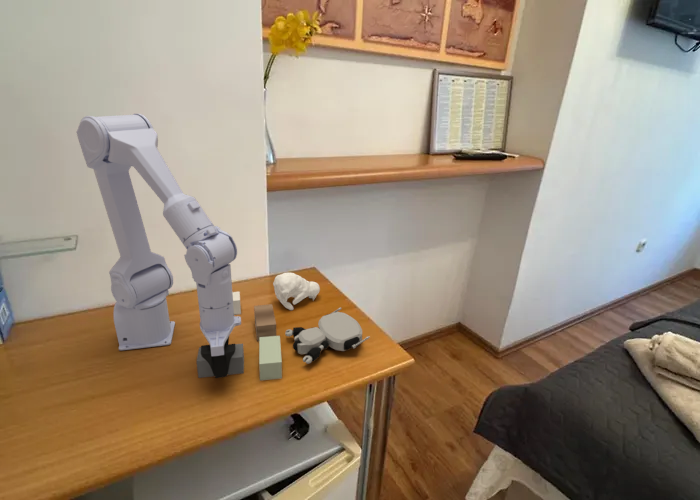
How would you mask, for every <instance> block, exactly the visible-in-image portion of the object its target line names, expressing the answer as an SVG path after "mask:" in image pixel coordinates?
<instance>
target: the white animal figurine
mask: <svg viewBox="0 0 700 500" xmlns="http://www.w3.org/2000/svg"><path fill="white" fill-rule="evenodd" d="M272 285H273V288H274V293H275V297H276V299H277V300H278V301H279V302H280V303H281V304H282V305H283V307H284V308H285V309H288V310H289V311H293V310H294V308H295V307H294V305H297V304H298V303H300V302H301V301H303V300H304V299H305V298H309V299H312V301H314V300H315V299H316V298H317V295H318V294H319V293H320V291H321V288H320V287H321V286H320V285H319V283H318V282H315V281H308V280H307V279H305V278H304V277H302V276H301V275H298V274H296V273H294V272H283V273H281V274H278V275H276V276H275V278H274V281H273V282H272ZM289 298H294V299H293V300H292V303H291V302H289V301H288V299H289ZM292 304H293V305H292Z"/></svg>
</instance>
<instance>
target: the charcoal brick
mask: <svg viewBox="0 0 700 500" xmlns="http://www.w3.org/2000/svg"><path fill="white" fill-rule="evenodd" d="M234 344H235V352H234V354H233V356H232V358H231V360H230V364H229V371H228V375H227V376H229V375H240V374H244V372H245V355H244V354H245V353H244V351H245V350H244V343H234ZM196 369H197V377H198V378H199V379H200V378H208V377H209V378H211V377H212V378H213V377H215V376H214V374H213V372H212V369H211V367H210V365H209V363H208V362H207V361H206V360H205V359H204V358H203V357H202V355H201V346H199V347H198V352H197V357H196Z"/></svg>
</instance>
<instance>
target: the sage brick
mask: <svg viewBox="0 0 700 500" xmlns="http://www.w3.org/2000/svg"><path fill="white" fill-rule="evenodd" d="M258 343H259V351H258V352H259V353H258V354H259V357H258V358H259V359H258V360H259V361H258V362H259V363H258V364H259V381H266V380H267V381H269V380H281V379H283V369H282V368H283V361H282V349H281V347H282V345H281V336H280V335H276V336H269V337H259V341H258Z"/></svg>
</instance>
